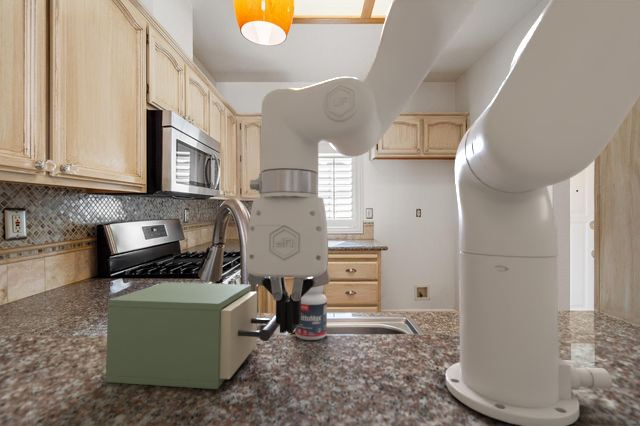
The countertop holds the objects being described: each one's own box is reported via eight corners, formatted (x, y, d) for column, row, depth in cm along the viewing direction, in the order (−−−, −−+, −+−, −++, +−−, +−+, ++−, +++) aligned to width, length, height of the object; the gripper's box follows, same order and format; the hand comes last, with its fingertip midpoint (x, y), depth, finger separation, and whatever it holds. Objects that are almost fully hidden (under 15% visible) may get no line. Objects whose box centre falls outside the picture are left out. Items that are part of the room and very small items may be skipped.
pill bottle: (292, 339, 52) (292, 284, 52) (298, 329, 57) (299, 279, 57) (324, 341, 51) (325, 285, 51) (328, 331, 56) (328, 280, 56)
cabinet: (250, 349, 48) (251, 284, 48) (217, 389, 36) (218, 303, 36) (163, 345, 49) (165, 282, 49) (105, 382, 37) (107, 299, 38)
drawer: (284, 346, 46) (284, 292, 47) (264, 381, 36) (265, 312, 36) (175, 341, 48) (177, 289, 48) (127, 373, 38) (129, 306, 38)
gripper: (223, 185, 39) (220, 337, 38) (346, 184, 37) (345, 343, 37) (244, 191, 46) (242, 319, 46) (347, 190, 45) (347, 323, 44)
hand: (288, 329), depth 41 cm, fingers closed
